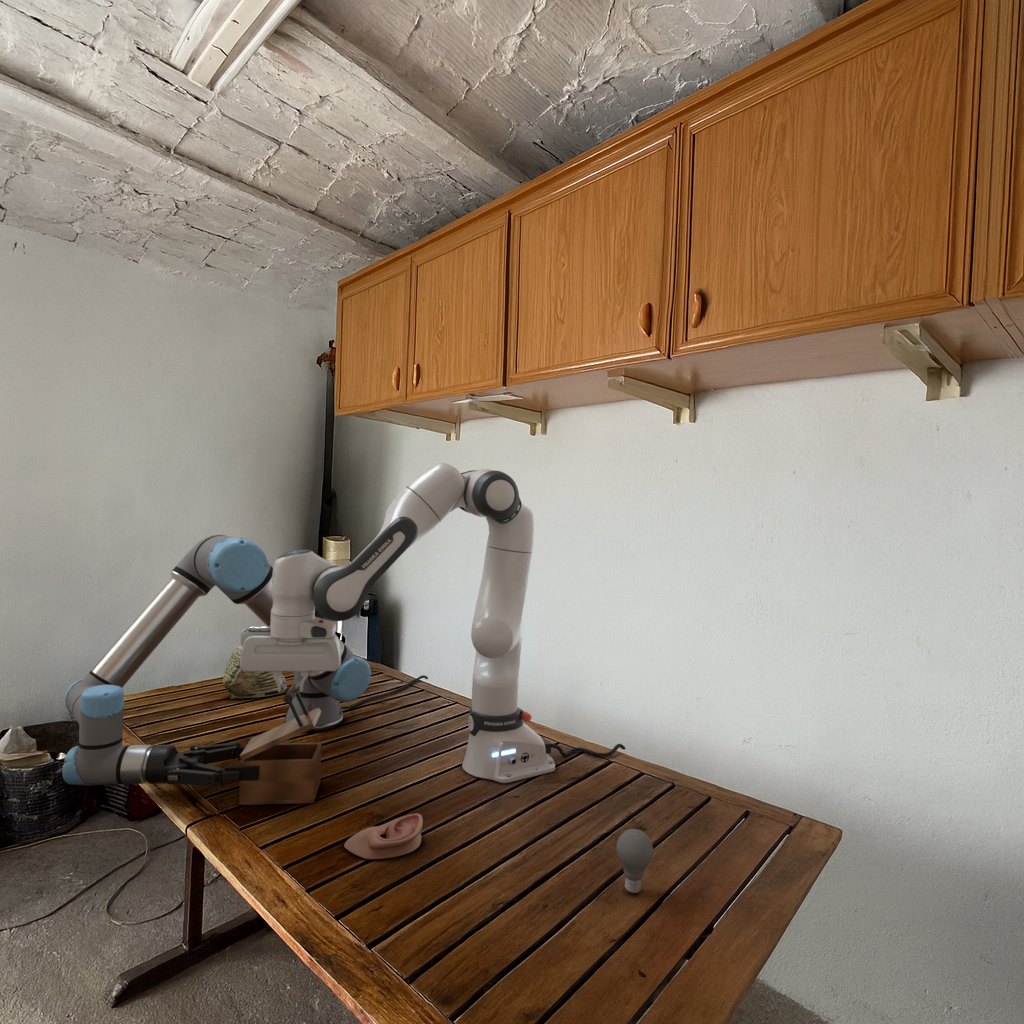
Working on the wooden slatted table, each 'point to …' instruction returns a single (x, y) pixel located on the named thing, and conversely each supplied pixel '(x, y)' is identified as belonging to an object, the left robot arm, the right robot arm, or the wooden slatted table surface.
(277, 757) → the chest
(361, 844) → the anatomical model
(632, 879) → the light bulb
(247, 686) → the fossil
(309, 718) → the lid
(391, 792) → the wooden slatted table surface
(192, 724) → the wooden slatted table surface
